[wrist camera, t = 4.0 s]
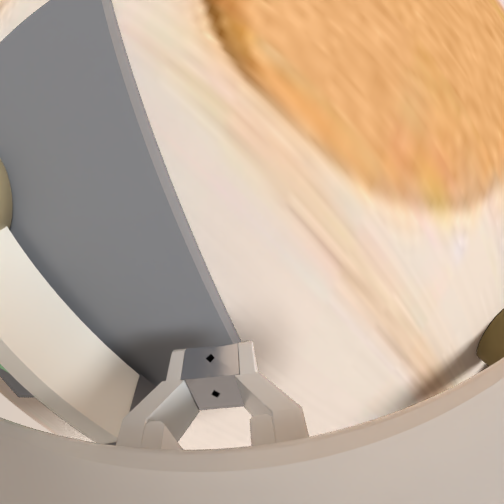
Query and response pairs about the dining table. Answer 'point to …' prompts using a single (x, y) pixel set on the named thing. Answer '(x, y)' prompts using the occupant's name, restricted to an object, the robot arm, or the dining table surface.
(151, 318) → the dial board
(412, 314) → the dining table surface
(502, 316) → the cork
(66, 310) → the dial lever
